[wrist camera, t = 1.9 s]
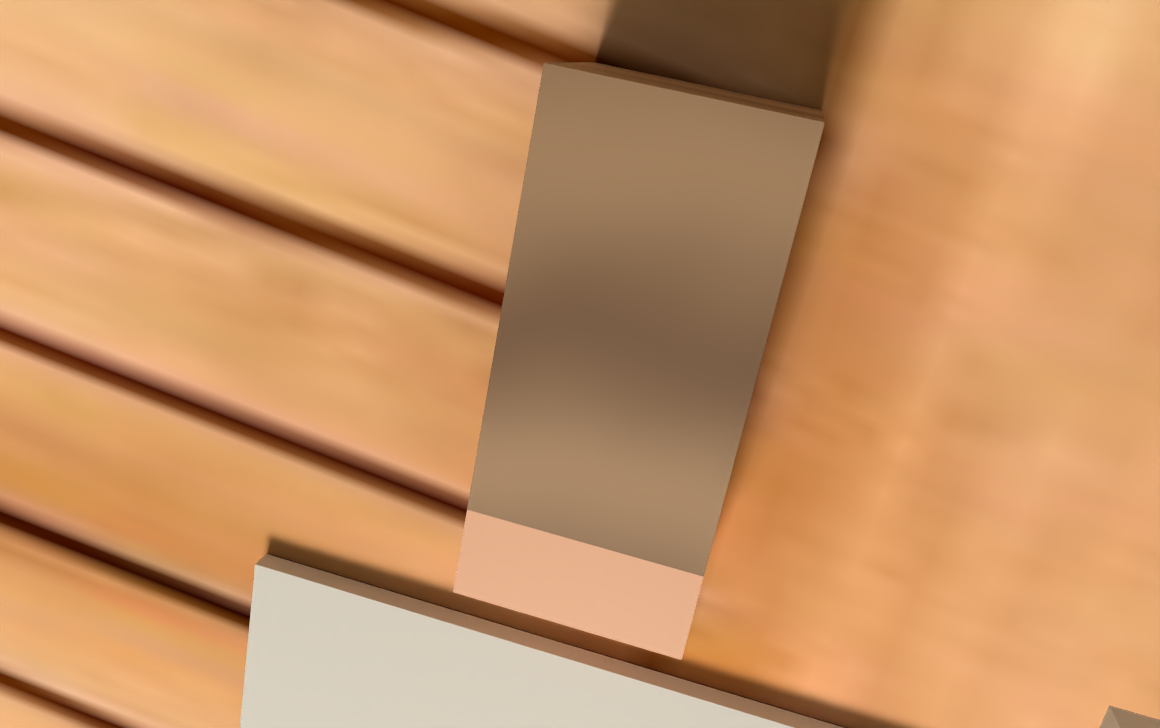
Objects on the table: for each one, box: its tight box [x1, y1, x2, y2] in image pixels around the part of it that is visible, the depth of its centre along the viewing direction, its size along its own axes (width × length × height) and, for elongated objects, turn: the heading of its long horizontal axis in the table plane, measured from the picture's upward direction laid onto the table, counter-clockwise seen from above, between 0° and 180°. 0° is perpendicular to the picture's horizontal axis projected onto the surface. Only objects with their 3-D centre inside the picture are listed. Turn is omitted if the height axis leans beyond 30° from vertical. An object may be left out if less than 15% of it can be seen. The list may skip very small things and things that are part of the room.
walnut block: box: [453, 62, 825, 660], centre depth 21 cm, size 11×5×4 cm, turn 169°
